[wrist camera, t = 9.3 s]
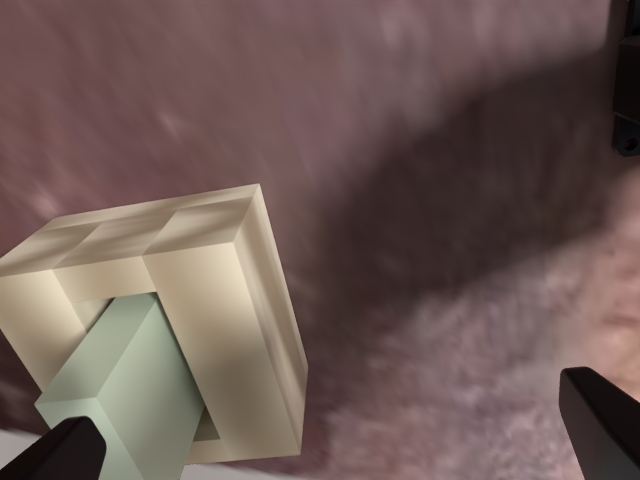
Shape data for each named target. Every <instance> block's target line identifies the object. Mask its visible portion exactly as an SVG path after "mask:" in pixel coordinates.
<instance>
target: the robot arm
mask: <svg viewBox="0 0 640 480" xmlns="http://www.w3.org/2000/svg"><path fill="white" fill-rule="evenodd" d="M612 110H613V112H614V113H616V115H615V123H614V132H613V140H612V148H613V150H614V151H615V152H616V153H618V154H620V155H622V156H624V157H630V156H636V155H640V0H629V5H628V14H627V22H626V31H625V39H624V40H623V42H622V43H621V44H620V46H619V55H618V64H617V73H616V81H615V90H614V99H613V107H612ZM631 138H632V142H631V144H630V145H629V146H628V147H626V148H624V144H625V142H626V141H627V140H629V139H631ZM559 408H560V412H561V416H562V419H563V421H564V424H565V427H566V430H567V432H568V435H569V438H570V440H571V443H572V446H573V448H574V451H575V454H576V457H577V459H578V462H579V465H580V467H581V470H582V473H583V476H584V478H585V480H640V402H638V401H637V400H635V399H634V398H632V397H631V396H630V395H628V394H627V393H625V392H624V391H623V390H621V389H620V388H618V387H617V386H615V385H614V384H613V383H611V382H610V381H608V380H607V379H606V378H604V377H603V376H601V375H600V374H598V373H597V372H596V371H594V370H593V369H591V368H589V367H573V368H565V369H563V370H562V371H561V374H560V388H559ZM106 451H107V445H106V441H105V439H104V438H103V436H102V435H101V433H100V431H99V430H98V428H97V427H96V425H95V424H94V422H93V421H92V419H91V418H90V417H88V416H74V417H68V418H66V419H64V420H63V421H61V422H60V423H59V424H58V425H56V426H55V427H54V428H52V429H51V430H50V431H49V432H47V433H46V434H45V435H44V436H42V437H41V438H40V439H39V440H37V441H36V442H35V443H34V444H32V445H31V446H30V447H29V448H27V449H26V450H25V451H23V452H22V453H21V454H20V455H18V456H17V457H16V458H15V459H13V460H12V461H11V462H10V463H8V464H7V465H6V466H5V467H3V468H2V469H1V470H0V480H99V476H100V473H101V469H102V466H103V463H104V459H105V456H106Z"/></svg>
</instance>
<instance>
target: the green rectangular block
mask: <svg viewBox="0 0 640 480" xmlns="http://www.w3.org/2000/svg"><path fill="white" fill-rule="evenodd" d="M34 405H35V407H36V408H37V409H38V411H39V412H40V414H41V415H42V417H43V418H44V420H45V421H46V423H47V424H48V426H49V427H50V428H51V429H52V428H54V427H55V426H56V425H58V424H59V423H60V422H61V421H63V420H64V419H66V418H68V417H74V416H88V417H90V418H91V419H92V421H93V422H94V424H95V425H96V427H97V428H98V430H99V431H100V433H101V435H102V436H103V438H104V439H105V441H106V445H107V451H106V456H105V459H104V463H103V466H102V469H101V473H100V476H99V480H180V477H181V473H182V471H183V468H184V465H185V462H186V459H187V456H188V453H189V450H190V447H191V444H192V441H193V438H194V435H195V432H196V429H197V426H198V424H199V421H200V418H201V415H202V412H203V409H204V406H205V402H204V400H203V397H202V395H201V393H200V390H199V388H198V386H197V383H196V381H195V379H194V377H193V374H192V372H191V370H190V367H189V365H188V363H187V360H186V358H185V356H184V353H183V351H182V349H181V347H180V344H179V342H178V340H177V337H176V335H175V333H174V330H173V328H172V326H171V323H170V321H169V319H168V317H167V314H166V312H165V310H164V307H163V305H162V303H161V300H160V298H159V296H158V294H157V291H156V292H149V293H142V294H135V295H128V296H121V297H116V298H115V299H114V300H113V302H112V303H111V304H110V305H109V307H108V308H107V309H106V311H105V312H104V313H103V315H102V316H101V317H100V319H99V320H98V321H97V322H96V324H95V325H94V326H93V328H92V329H91V330H90V332H89V333H88V334H87V335H86V337H85V338H84V339H83V341H82V342H81V343H80V345H79V346H78V347H77V349H76V350H75V351H74V352H73V354H72V355H71V356H70V358H69V359H68V360H67V362H66V363H65V364H64V366H63V367H62V368H61V369H60V371H59V372H58V373H57V375H56V376H55V377H54V379H53V380H52V381H51V382H50V384H49V385H48V386H47V388H46V389H45V390H44V392H43V393H42V394H41V396H40V397H39V398H38V399H37V401H36V402H35V403H34Z"/></svg>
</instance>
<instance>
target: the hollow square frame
mask: <svg viewBox="0 0 640 480" xmlns="http://www.w3.org/2000/svg"><path fill="white" fill-rule="evenodd" d="M156 291H157V294H158V296H159V298H160V300H161V303H162V305H163V307H164V310H165V312H166V314H167V317H168V319H169V321H170V323H171V326H172V328H173V330H174V333H175V335H176V337H177V340H178V342H179V344H180V347H181V349H182V351H183V353H184V356H185V358H186V360H187V363H188V365H189V367H190V370H191V372H192V374H193V377H194V379H195V381H196V383H197V386H198V388H199V390H200V393H201V395H202V397H203V400H204V402H205V406H204V409H203V412H202V415H201V418H200V421H199V424H198V426H197V429H196V432H195V435H194V438H193V441H192V444H191V447H190V450H189V453H188V456H187V459H186V462H185V465H190V464H201V463H213V462H224V461H235V460H247V459H258V458H270V457H281V456H292V455H300V454H301V443H302V432H303V420H304V409H305V398H306V386H307V375H308V363H307V360H306V356H305V352H304V348H303V345H302V341H301V337H300V333H299V330H298V326H297V322H296V319H295V315H294V311H293V307H292V304H291V300H290V296H289V292H288V289H287V285H286V281H285V277H284V274H283V270H282V266H281V262H280V259H279V255H278V251H277V248H276V244H275V240H274V236H273V233H272V229H271V225H270V221H269V218H268V214H267V210H266V206H265V203H264V199H263V195H262V191H261V188H260V184H253V185H247V186H241V187H235V188H229V189H223V190H217V191H211V192H205V193H199V194H193V195H187V196H181V197H175V198H169V199H163V200H157V201H151V202H145V203H139V204H133V205H127V206H121V207H115V208H109V209H103V210H97V211H91V212H85V213H79V214H73V215H67V216H61V217H55V218H54V219H53V220H51V221H50V222H49V223H47V224H46V225H45V226H43V227H42V228H41V229H39V230H38V231H37V232H35V233H34V234H33V235H31V236H30V237H29V238H27V239H26V240H25V241H23V242H22V243H21V244H19V245H18V246H17V247H15V248H14V249H13V250H11V251H10V252H9V253H7V254H6V255H5V256H3V257H2V258H1V259H0V329H1V331H2V332H3V334H4V335H5V337H6V338H7V340H8V341H9V343H10V344H11V346H12V347H13V349H14V350H15V352H16V353H17V355H18V356H19V358H20V359H21V361H22V362H23V364H24V365H25V367H26V368H27V370H28V371H29V373H30V374H31V376H32V377H33V379H34V380H35V382H36V383H37V385H38V386H39V388H40V389H41V391H42V392H44V390H45V389H46V388H47V386H48V385H49V384H50V382H51V381H52V380H53V379H54V377H55V376H56V375H57V373H58V372H59V371H60V369H61V368H62V367H63V366H64V364H65V363H66V362H67V360H68V359H69V358H70V356H71V355H72V354H73V352H74V351H75V350H76V349H77V347H78V346H79V345H80V343H81V342H82V341H83V339H84V338H85V337H86V335H87V334H88V333H89V332H90V330H91V329H92V328H93V326H94V325H95V324H96V322H97V321H98V320H99V319H100V317H101V316H102V315H103V313H104V312H105V311H106V309H107V308H108V307H109V305H110V304H111V303H112V302H113V300H114V299H115V298H116V297H121V296H128V295H135V294H142V293H149V292H156Z"/></svg>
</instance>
